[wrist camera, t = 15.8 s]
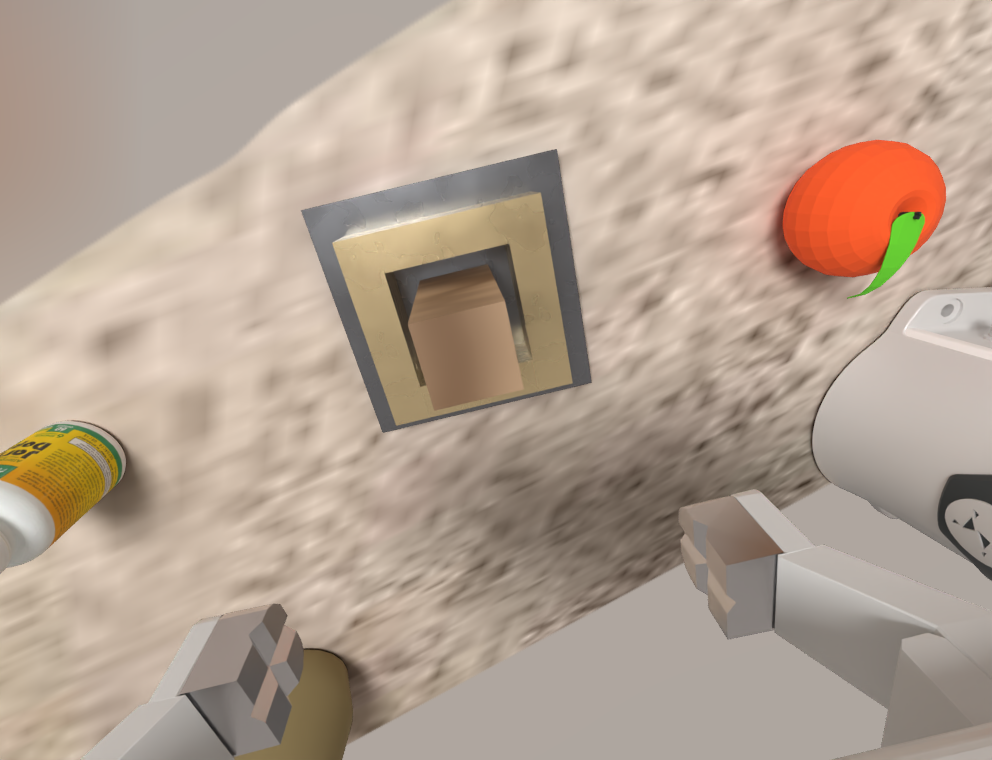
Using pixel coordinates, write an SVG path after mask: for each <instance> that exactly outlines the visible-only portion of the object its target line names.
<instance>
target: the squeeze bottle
mask: <svg viewBox="0 0 992 760" xmlns="http://www.w3.org/2000/svg"><path fill="white" fill-rule="evenodd" d="M288 698H289V701H290V703H291V705H292V708H291V711H290V714H289V718H288V721H287V724H286V728H285V731H284V734H283V737H282V741H281V744H280V745H277V746H273V747H269V748H266V749H262V750H258V751H254V752H251V753H247V754H243V755H239V756H236V757H234V759H235V760H342V758H343V754H344V751H345V747H346V743H347V740H348V736H349V732H350V729H351V725H352V717H353V706H352V699H351V692H350V685H349V678H348V671H347V668H346V667H345V665H344V663H343V661H342V660H340V659H339V658H337V657H336V656H335V655H333V654H331V653H327V652H324V651H321V650H304V659H303V670H302V674H301V677H300V681H299V683H298V684H297V686H296V687H295V688H294V689H293V690H292V692H291V693H290V694H289V695H288Z"/></svg>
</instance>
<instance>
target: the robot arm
mask: <svg viewBox="0 0 992 760" xmlns="http://www.w3.org/2000/svg"><path fill="white" fill-rule="evenodd" d="M812 444H813V453H814V457H815V460H816V463H817V465H818V467H819V469H820V471H821V472H822V474H823V475H824V476H825V477H826V478H827V479H828V480H829V481H830V482H831V483H833V484H834V485H836V486H838V487H840V488H842V489H844V490H846V491H849V492H851V493H853V494H855V495H858V496H859V497H862V498H864V499H866V500H867V501H868V502H869V503H870V504H871V505H872V506H873V507H874V508H875V509H876V510H877V511H879V512H881V513H882V514H884V515H885V516H887V517H889V518H892V519H898V518H899V519H901V520H902V521H904V522H906V523H907V524H909V525H910V526H912V527H914V528H915V529H917V530H919V531H920V532H922V533H923V534H925V535H927V536H928V537H930V538H932V539H933V540H935V541H937V542H938V543H940V544H942V545H943V546H945V547H946V548H948V549H950V550H951V551H953V552H955V553H956V554H958V555H960V556H962V557H963V558H965V559H966V560H968V561H970V562H971V563H973V564H974V565H975V566H976V567H977V568H978V569H979V570H980V571H981V572H982V573H983V574H984V575H985V576H986V577H987V578H988V579H990V580H992V287H979V288H958V289H937V290H925V291H921V292H919V293H917V294H916V295H914V296H913V297H912V298H911V299H910V300H909V301H908V302H907V303H906V304H905V305H904V307H903V308H902V309H901V311H900V312H899V313H898V315H897V316H896V318H895V319H894V320H893V322H892V323H891V325H890V326H889V328H888V329H887V331H886V332H885V333H884V334H883V335H882V336H881V337H880V338H879V339H878V340H877V341H875V342H874V343H873V344H872V345H870V346H869V347H868V348H867V349H866V350H864V351H863V352H862V353H861V354H860V355H858V356H857V357H856V358H855V359H854V360H853V361H852V362H851V363H850V364H849V365H848V366H847V367H846V368H845V369H844V371H843V372H842V373H841V374H840V375H839V377H838V378H837V379H836V380H835V382H834V383H833V385H832V386H831V388H830V389H829V391H828V392H827V394H826V396H825V398H824V400H823V402H822V404H821V406H820V409H819V411H818V414H817V417H816V420H815V424H814V429H813V439H812ZM678 515H679V524H680V526H681V527H682V529H683V530H684V532H685V534H684V536H683V537H682V539H681V540H680V544H681V553H682V557H683V560H684V563H685V567H686V569H687V571H688V574H689V576H690V578H691V580H692V581H693V583H694V585H695V587H696V588H697V589H698V590H700V591H702V592H703V593H705V594H707V595H708V606H709V610H710V611H711V613H712V615H713V616H714V618H715V619H716V621H717V623H718V624H719V626H720V628H721V629H722V631H723V633H724V634H725V635H726V637H727V639H732V638H737V637H742V636H747V635H752V634H757V633H762V632H767V631H771V630H775V633H776V634H778V635H779V636H781V637H782V638H784V639H785V640H786V641H788V642H789V643H791V644H792V645H794V646H795V647H797V648H798V649H800V650H801V651H803V652H804V653H806V654H807V655H809V656H810V657H811V658H813V659H815V660H816V661H817V662H819V663H820V664H822V665H823V666H825V667H826V668H828V669H829V670H831V671H832V672H834V673H835V674H837V675H838V676H840V677H841V678H842V679H844V680H845V681H847V682H848V683H850V684H851V685H853V686H854V687H856V688H857V689H859V690H860V691H862V692H863V693H865V694H866V695H868V696H869V697H871V698H872V699H873V700H875V701H876V702H878V703H879V704H881V705H882V706H884V707H885V708H887V709H888V712H887V718H886V723H885V728H884V734H883V738H882V743H881V748H878V749H874V750H870V751H866V752H861V753H857V754H853V755H849V756H845V757H840V758H836V759H832V760H992V611H990V610H988V609H985V608H983V607H980V606H978V605H975V604H972V603H970V602H967V601H965V600H963V599H960V598H958V597H955V596H952V595H950V594H947V593H945V592H942V591H940V590H937V589H935V588H932V587H930V586H927V585H925V584H922V583H920V582H917V581H914V580H912V579H910V578H907V577H904V576H902V575H900V574H897V573H894V572H892V571H889V570H887V569H884V568H882V567H879V566H877V565H874V564H872V563H869V562H867V561H864V560H862V559H859V558H857V557H854V556H852V555H849V554H846V553H844V552H841V551H839V550H836V549H834V548H831V547H829V546H826V545H819V546H815V545H814V544H813V543H812V542H811V541H810V540H809V539H808V538H807V537H806V536H805V535H804V534H803V533H802V532H801V531H800V530H799V529H798V528H797V527H796V526H794V524H792V522H791V521H790V520H789V519H787V518H786V517H785V515H783V513H781V511H779V510H778V509H777V508H776V507H775V506H774V505H773V504H772V503H771V502H770V501H769V500H768V499H767V498H766V497H765V496H764V495H763V494H762V493H761V492H760V491H758V490H756V489H752V490H748V491H744V492H740V493H736V494H732V495H729V496H725V497H721V498H717V499H713V500H709V501H705V502H701V503H696V504H692V505H688V506H684V507H680V509H679V513H678ZM287 616H288V615H287V614H286V612H285V611H284V609H283V608H282V606H281V604H269V605H264V606H259V607H255V608H250V609H245V610H240V611H235V612H231V613H226V614H224V615H219V616H214V617H209V618H204V619H201V620H200V621H198V622H197V623H196V624H194V625H193V627H192V628H191V630H190V632H189V633H188V635H187V637H186V639H185V640H184V642H183V644H182V645H181V647H180V649H179V651H178V652H177V654H176V656H175V658H174V659H173V661H172V663H171V664H170V666H169V668H168V670H167V671H166V673H165V675H164V676H163V678H162V680H161V682H160V683H159V685H158V687H157V689H156V690H155V692H154V694H153V695H152V697H151V699H150V701H149V702H148V703H147V704H143V705H139V706H138V707H137V708H136V709H135V710H134V711H133V712H132V713H131V714H130V715H128V716H127V717H126V718H125V719H124V720H123V721H122V722H121V723H120V724H119V725H117V726H116V727H115V728H114V729H113V730H112V731H111V732H110V733H109V734H108V735H106V736H105V737H104V738H103V739H102V740H101V741H100V742H99V743H98V744H97V745H96V746H94V747H93V748H92V749H91V750H90V751H89V752H88V753H87V754H86V755H85V756H83V757H82V758H81V759H80V760H235V759H234V757H236V756H239V755H243V754H247V753H251V752H254V751H258V750H262V749H266V748H269V747H273V746H277V745H280V744H281V741H282V737H283V734H284V731H285V728H286V724H287V721H288V718H289V714H290V711H291V708H292V705H291V703H290V701H289V698H288V695H289V694H290V693H291V692H292V690H293V689H294V688H295V687H296V686H297V684H298V683H299V681H300V677H301V674H302V670H303V659H304V650H303V646H302V642H301V639H300V637H299V635H298V633H297V631H295V630H293V629H292V628H290V627H288V626H286V625H284V624H285V622H286V619H287Z"/></svg>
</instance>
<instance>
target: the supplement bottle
mask: <svg viewBox="0 0 992 760" xmlns="http://www.w3.org/2000/svg"><path fill="white" fill-rule="evenodd" d="M125 467H126V458H125V454H124V451H123V449H122V447H121V446H120V445H119V443H118V442H117V441H116V440H115V439H114V438H113V437H112V436H111V435H109V434H108V433H107V432H105V431H104V430H102V429H100V428H98V427H96V426H93V425H90V424H87V423H83V422H76V421H60V422H56V423H53V424H50V425H48V426H46V427H44V428H42V429H41V430H38V431H37V432H35V433H34V434H32V435H30V436H29V437H27V438H26V439H24V440H22V441H20V442H19V443H17V444H16V445H14V446H12V447H11V448H9V449H8V450H6V451H4V452H3V453H1V454H0V574H1V573H2V572H3V571H4V570H5V569H6V568H8V567H14V566H18V565H22V564H24V563H27V562H29V561H31V560H33V559H35V558H36V557H38V556H39V555H41V554H42V553H43V552H44V551H46V550H47V549H48V548H49V547H50V546H51V545H52V544H53V543H54V542H55V541H56V540H57V539H59V538H60V537H61V536H62V535H63V534H64V533H65V532H66V531H67V530H68V529H69V528H70V527H71V526H72V525H74V524H75V523H76V522H77V521H78V520H79V519H80V518H81V517H82V516H83V515H84V514H85V513H87V512H88V511H89V510H90V509H91V508H92V507H93V506H94V505H95V504H96V503H97V502H98V501H100V500H101V499H102V498H103V497H104V496H105V495H106V494H107V493H108V492H109V491H110V490H112V489H113V488H114V487H115V486H116V485H117V484H118V483H119V482H120V480H121V479H122V477H123V475H124V472H125Z"/></svg>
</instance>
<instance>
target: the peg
mask: <svg viewBox="0 0 992 760" xmlns="http://www.w3.org/2000/svg"><path fill="white" fill-rule="evenodd" d="M408 327H409V330H410V333H411V337H412V340H413V343H414V346H415V350H416V353H417V356H418V359H419V363H420V366H421V369H422V372H423V376H424V379H425V382H426V385H427V389H428V392H429V395H430V398H431V402H432V405H433V408H434V411H436V410H440V409H444V408H448V407H452V406H457V405H461V404H465V403H469V402H473V401H477V400H482V399H486V398H490V397H494V396H498V395H503V394H507V393H511V392H515V391H519V390H523V389H524V387H523V383H522V378H521V373H520V369H519V364H518V359H517V355H516V350H515V345H514V341H513V336H512V331H511V327H510V322H509V317H508V313H507V308H506V303H505V300H504V298H503V296H502V294H501V292H500V289H499V287H498V285H497V283H496V281H495V279H494V277H493V275H492V272H491V270H490V268H489V266H488V264H486V265H482V266H477V267H473V268H469V269H465V270H461V271H457V272H452V273H448V274H444V275H440V276H436V277H432V278H427V279H423V280H420V282H419V285H418V289H417V293H416V296H415V300H414V304H413V307H412V311H411V314H410V318H409V322H408Z"/></svg>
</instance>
